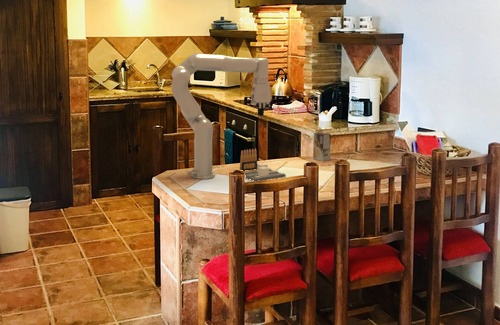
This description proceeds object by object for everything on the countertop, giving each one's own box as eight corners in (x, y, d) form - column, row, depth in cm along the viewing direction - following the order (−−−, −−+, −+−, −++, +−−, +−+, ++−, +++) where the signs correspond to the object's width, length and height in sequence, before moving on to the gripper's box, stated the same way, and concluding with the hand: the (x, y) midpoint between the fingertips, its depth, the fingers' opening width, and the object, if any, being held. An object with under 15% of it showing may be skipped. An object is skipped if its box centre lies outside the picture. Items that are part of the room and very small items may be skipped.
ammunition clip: (241, 171, 365) (241, 150, 362) (239, 170, 366) (239, 149, 364) (257, 169, 370) (257, 148, 368) (255, 168, 372) (255, 147, 369)
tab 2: (262, 177, 346) (262, 168, 345) (258, 175, 350) (258, 167, 349) (268, 176, 349) (268, 168, 348) (264, 174, 352) (264, 166, 351)
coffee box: (330, 160, 395) (331, 133, 391) (322, 161, 391) (323, 135, 388) (320, 157, 402) (320, 131, 399) (312, 158, 398) (313, 132, 395)
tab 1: (261, 173, 354) (261, 165, 353) (257, 172, 358) (257, 164, 357) (267, 172, 356) (267, 164, 355) (263, 171, 360) (263, 163, 359)
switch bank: (254, 181, 342) (254, 178, 342) (240, 176, 354) (240, 173, 353) (285, 176, 353) (285, 173, 353) (270, 171, 364) (270, 168, 364)
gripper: (253, 82, 343) (253, 117, 347) (276, 81, 351) (276, 115, 355) (245, 81, 349) (245, 115, 353) (268, 80, 357) (268, 113, 361)
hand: (260, 115), depth 354 cm, fingers closed
